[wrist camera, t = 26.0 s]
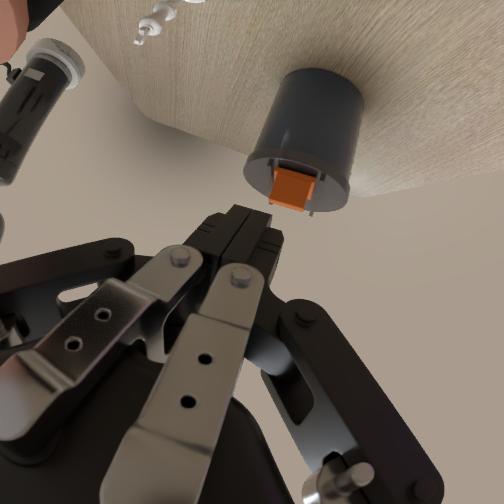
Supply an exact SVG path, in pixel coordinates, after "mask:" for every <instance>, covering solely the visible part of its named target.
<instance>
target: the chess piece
mask: <svg viewBox="0 0 504 504" xmlns="http://www.w3.org/2000/svg"><path fill="white" fill-rule="evenodd" d="M183 1H186V2H191V3H200V2H204V1H207V0H167V1H159V2H157V3H156V4H155V5H154V7H153V13H152V14H150V15H148V16H146V17H144V18H142V19H141V20H140V22H139V27H140V29H139V35H138V36H137V37H136V39H135V40H134V44H137V45H139V44H141V45H143V44H144V43H145V40H146V36H147V35H151V36H155V35H158V34H160V33H161V31H162V29H163V25H164V22H165V20H171V19H173V18H174V17H175V16H176V14H177V11H176V7H177V6H178V5H179V4H180V3H182V2H183Z"/></svg>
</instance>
